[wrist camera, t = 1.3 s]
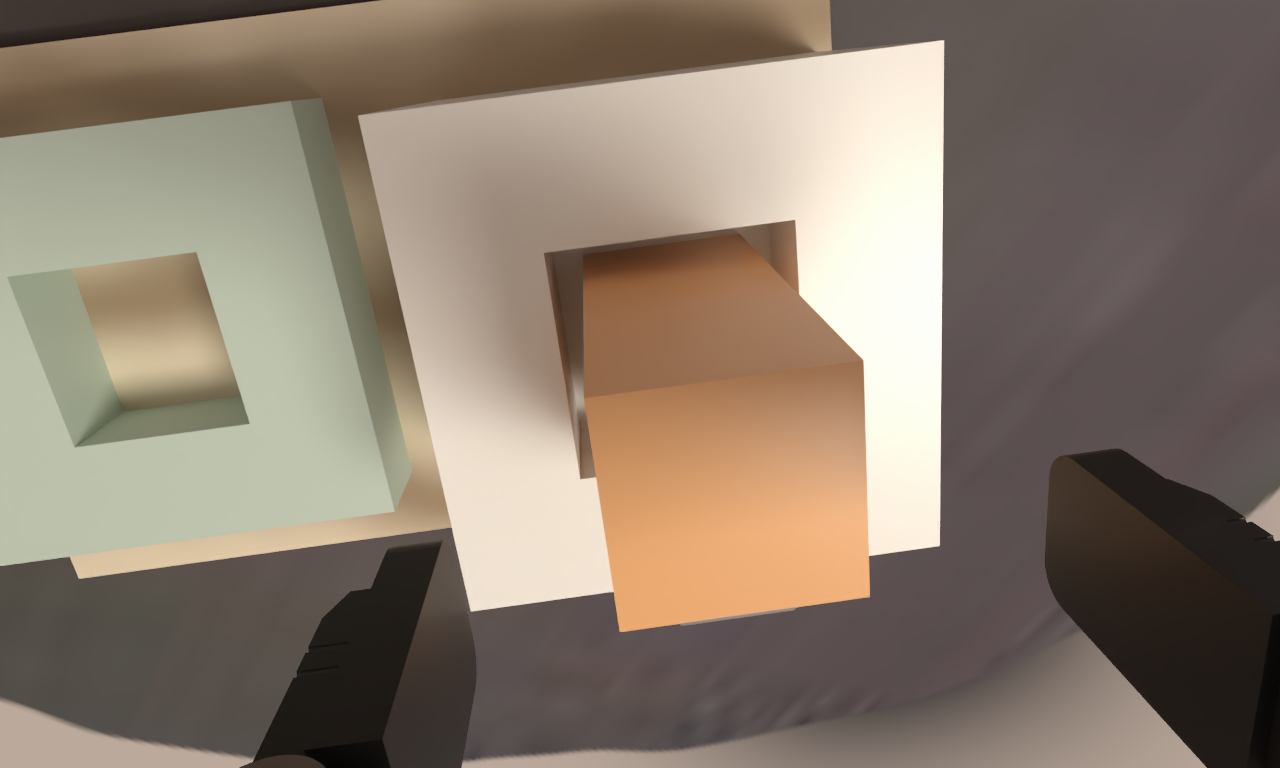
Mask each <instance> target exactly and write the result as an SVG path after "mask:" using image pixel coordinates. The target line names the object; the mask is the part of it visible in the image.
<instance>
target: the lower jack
mask: <svg viewBox="0 0 1280 768" xmlns="http://www.w3.org/2000/svg"><path fill="white" fill-rule="evenodd" d="M193 252H197V256H198V259H199V262H200V265H201V268H202V272H203V275H204V278H205V281H206V285H207V288H208V291H209V294H210V297H211V301H212V304H213V307H214V310H215V314H216V317H217V320H218V323H219V326H220V330H221V333H222V336H223V339H224V342H225V346H226V349H227V352H228V355H229V359H230V362H231V365H232V368H233V371H234V375H235V378H236V381H237V384H238V387H239V391H240V394H241V396H235V397H227V398H220V399H212V400H205V401H197V402H190V403H182V404H175V405H168V406H160V407H153V408H145V409H138V410H130V411H123V409H122V406H121V403H120V401H119V398H118V395H117V392H116V390H115V387H114V384H113V382H112V379H111V376H110V373H109V371H108V368H107V365H106V363H105V360H104V357H103V354H102V352H101V349H100V346H99V343H98V341H97V338H96V335H95V333H94V330H93V327H92V324H91V322H90V319H89V316H88V313H87V311H86V308H85V305H84V303H83V300H82V297H81V294H80V292H79V289H78V286H77V284H76V281H75V278H74V275H73V273H72V270H71V268H78V267H86V266H94V265H101V264H109V263H116V262H124V261H132V260H139V259H147V258H155V257H162V256H170V255H178V254H185V253H193ZM411 473H412V469H411V465H410V460H409V456H408V452H407V448H406V444H405V440H404V436H403V431H402V427H401V423H400V419H399V415H398V411H397V407H396V402H395V398H394V394H393V390H392V386H391V382H390V378H389V373H388V369H387V365H386V361H385V357H384V353H383V349H382V344H381V340H380V336H379V332H378V328H377V324H376V319H375V315H374V311H373V307H372V303H371V299H370V295H369V290H368V286H367V282H366V278H365V274H364V270H363V266H362V261H361V257H360V253H359V249H358V245H357V241H356V237H355V232H354V228H353V224H352V220H351V216H350V212H349V208H348V203H347V199H346V195H345V191H344V187H343V183H342V178H341V174H340V170H339V166H338V162H337V158H336V154H335V149H334V145H333V141H332V137H331V133H330V129H329V125H328V120H327V116H326V112H325V108H324V104H323V100H322V98H316V99H305V100H295V101H286V102H278V103H270V104H263V105H255V106H247V107H239V108H231V109H223V110H216V111H208V112H200V113H192V114H184V115H177V116H169V117H161V118H153V119H145V120H137V121H130V122H122V123H114V124H106V125H98V126H90V127H83V128H75V129H67V130H59V131H51V132H44V133H36V134H28V135H20V136H12V137H4V138H0V566H4V565H11V564H19V563H26V562H33V561H40V560H48V559H55V558H62V557H69V556H77V555H84V554H91V553H99V552H106V551H113V550H120V549H128V548H135V547H142V546H149V545H157V544H164V543H171V542H179V541H186V540H193V539H200V538H208V537H215V536H222V535H229V534H237V533H244V532H251V531H259V530H266V529H273V528H280V527H288V526H295V525H302V524H309V523H317V522H324V521H331V520H339V519H346V518H353V517H360V516H368V515H375V514H382V513H389V512H395V511H396V508H397V506H398V503H399V501H400V499H401V496H402V494H403V492H404V489H405V487H406V485H407V482H408V480H409V478H410V475H411Z"/></svg>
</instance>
